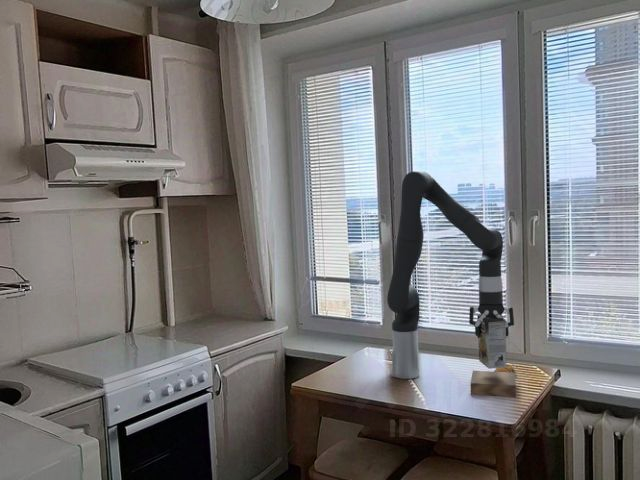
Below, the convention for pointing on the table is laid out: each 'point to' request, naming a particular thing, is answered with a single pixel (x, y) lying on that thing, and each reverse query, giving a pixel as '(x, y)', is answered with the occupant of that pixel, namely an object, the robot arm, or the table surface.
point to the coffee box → (492, 342)
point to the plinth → (493, 384)
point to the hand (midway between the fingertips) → (491, 337)
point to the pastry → (506, 369)
